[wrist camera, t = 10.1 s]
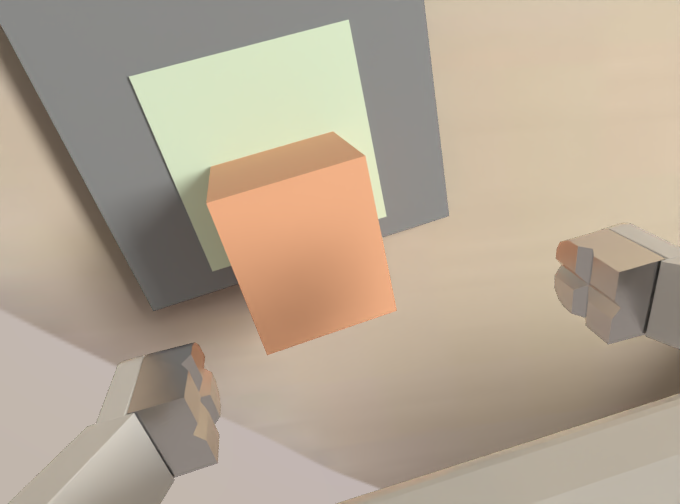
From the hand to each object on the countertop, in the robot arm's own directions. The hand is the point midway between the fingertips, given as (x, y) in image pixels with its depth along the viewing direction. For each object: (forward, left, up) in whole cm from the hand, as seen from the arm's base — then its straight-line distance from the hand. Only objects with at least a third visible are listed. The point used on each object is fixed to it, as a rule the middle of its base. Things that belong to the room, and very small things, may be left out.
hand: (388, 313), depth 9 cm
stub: (+1, +1, -10) cm, 10 cm away
